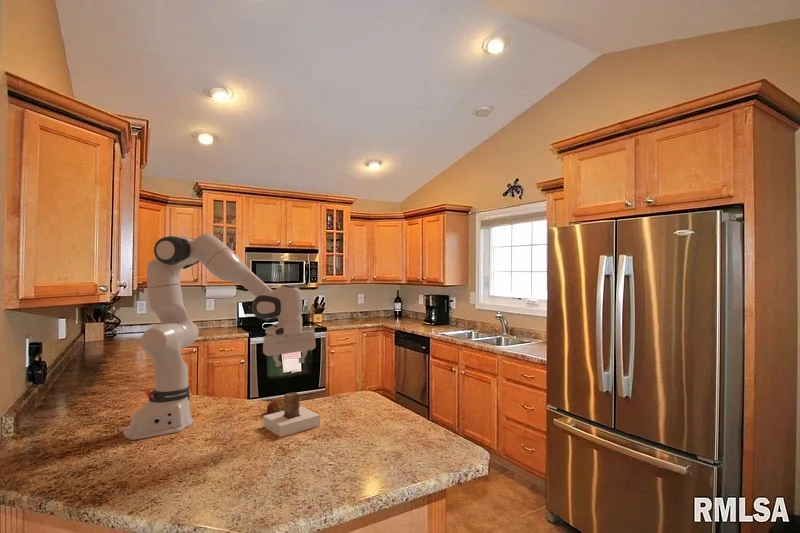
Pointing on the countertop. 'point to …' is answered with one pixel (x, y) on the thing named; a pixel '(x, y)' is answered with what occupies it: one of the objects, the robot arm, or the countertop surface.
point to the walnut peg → (291, 405)
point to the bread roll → (275, 405)
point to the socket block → (291, 422)
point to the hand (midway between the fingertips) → (290, 364)
